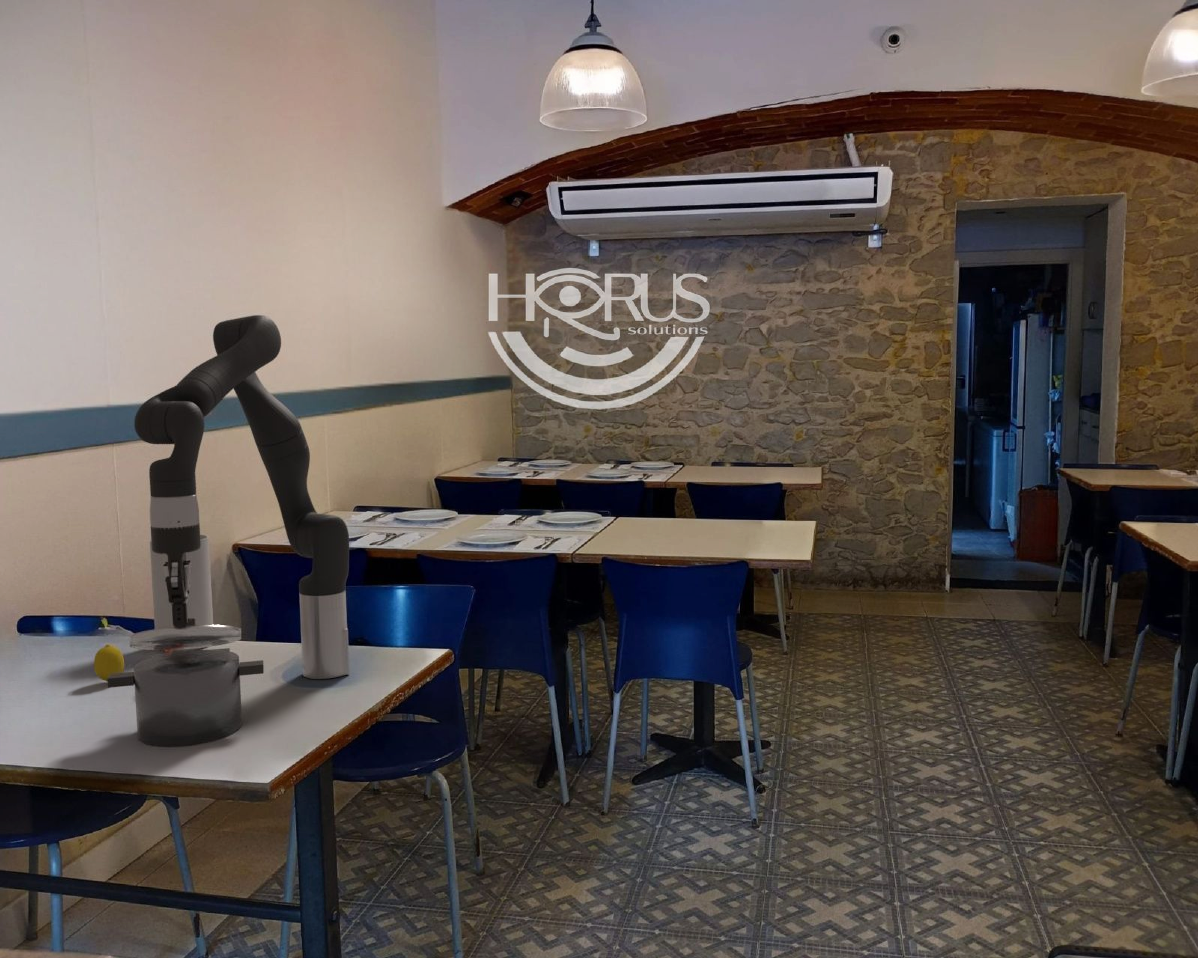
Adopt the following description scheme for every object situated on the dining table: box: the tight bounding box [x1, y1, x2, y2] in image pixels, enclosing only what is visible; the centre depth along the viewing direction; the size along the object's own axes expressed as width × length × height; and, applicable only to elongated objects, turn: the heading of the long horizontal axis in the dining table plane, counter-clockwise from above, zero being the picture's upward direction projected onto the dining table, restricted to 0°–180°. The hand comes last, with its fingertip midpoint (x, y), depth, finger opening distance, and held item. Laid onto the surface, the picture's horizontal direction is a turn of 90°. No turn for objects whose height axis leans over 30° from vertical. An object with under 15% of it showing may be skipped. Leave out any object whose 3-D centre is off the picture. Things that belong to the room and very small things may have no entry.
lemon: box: [93, 643, 125, 683], centre depth 209 cm, size 6×6×8 cm
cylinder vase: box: [149, 534, 214, 653], centre depth 238 cm, size 12×12×25 cm
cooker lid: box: [129, 618, 242, 651], centre depth 180 cm, size 18×18×4 cm
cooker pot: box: [107, 647, 265, 748], centre depth 181 cm, size 25×18×12 cm
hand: (180, 625), depth 172 cm, fingers closed
